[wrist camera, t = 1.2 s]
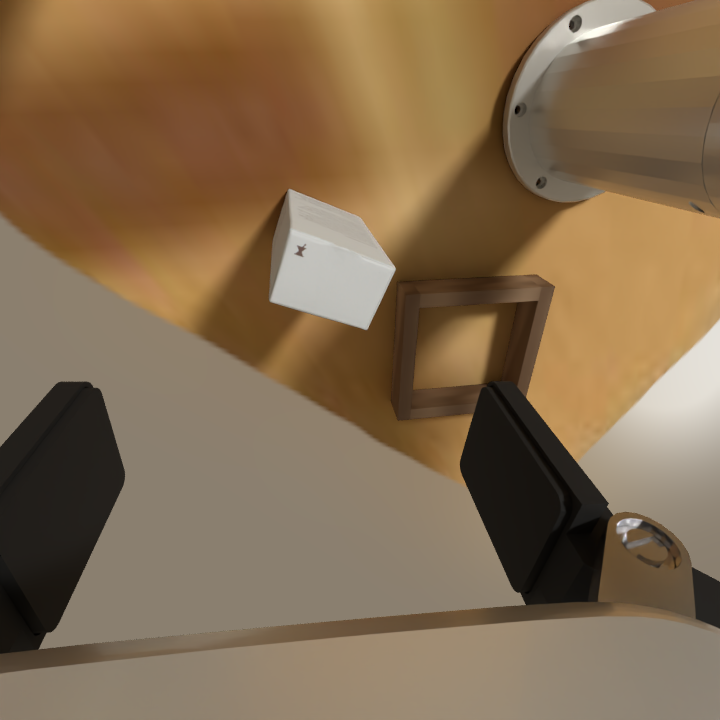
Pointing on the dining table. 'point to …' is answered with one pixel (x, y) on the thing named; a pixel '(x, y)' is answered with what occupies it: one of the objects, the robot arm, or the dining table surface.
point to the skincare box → (327, 263)
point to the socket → (456, 292)
